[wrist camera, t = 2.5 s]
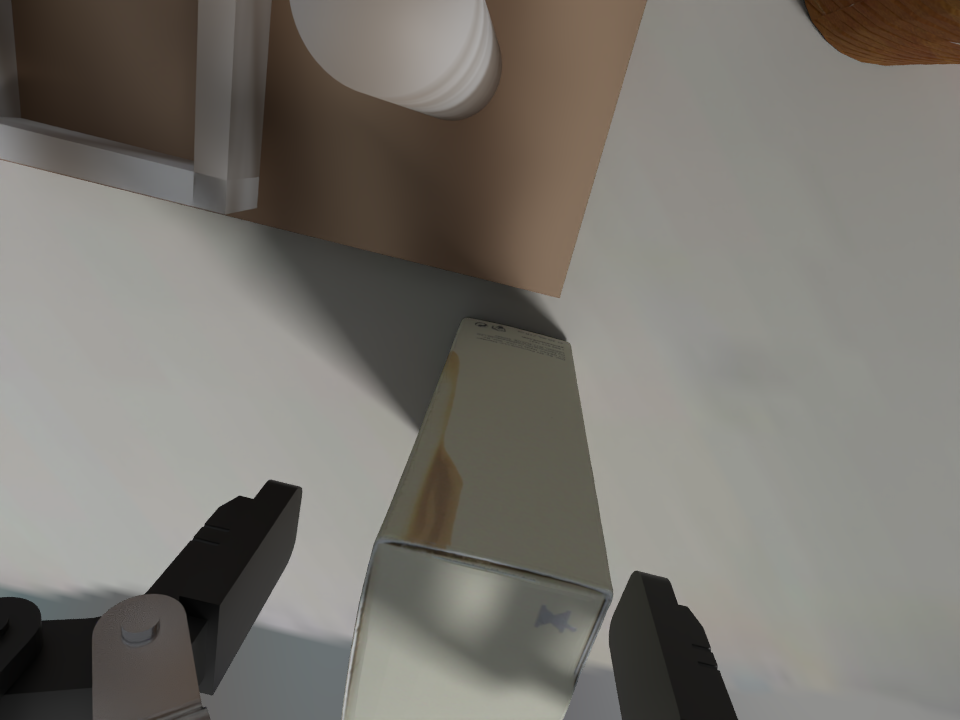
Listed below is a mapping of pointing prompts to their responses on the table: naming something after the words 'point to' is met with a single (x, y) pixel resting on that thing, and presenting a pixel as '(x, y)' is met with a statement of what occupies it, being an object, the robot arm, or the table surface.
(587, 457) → the skincare box
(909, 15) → the disposable coffee cup
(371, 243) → the pin board
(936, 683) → the table surface
